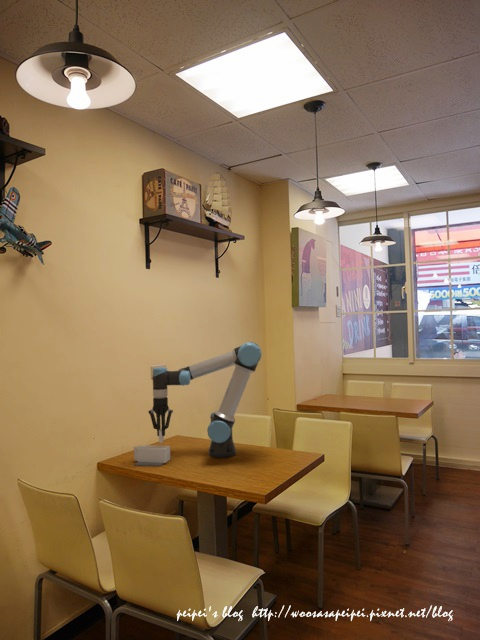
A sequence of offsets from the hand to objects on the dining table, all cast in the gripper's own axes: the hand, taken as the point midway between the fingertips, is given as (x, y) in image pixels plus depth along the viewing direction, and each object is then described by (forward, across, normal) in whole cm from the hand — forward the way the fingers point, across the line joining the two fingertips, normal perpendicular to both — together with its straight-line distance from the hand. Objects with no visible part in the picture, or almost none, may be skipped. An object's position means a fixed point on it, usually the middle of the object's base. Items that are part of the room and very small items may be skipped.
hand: (161, 442), depth 240 cm
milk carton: (+6, -4, 0) cm, 7 cm away
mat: (+11, +6, 0) cm, 12 cm away
